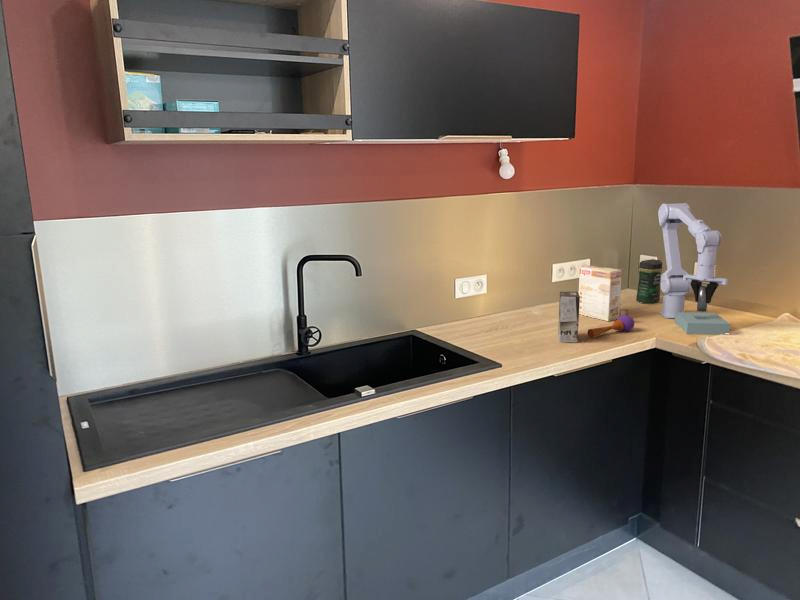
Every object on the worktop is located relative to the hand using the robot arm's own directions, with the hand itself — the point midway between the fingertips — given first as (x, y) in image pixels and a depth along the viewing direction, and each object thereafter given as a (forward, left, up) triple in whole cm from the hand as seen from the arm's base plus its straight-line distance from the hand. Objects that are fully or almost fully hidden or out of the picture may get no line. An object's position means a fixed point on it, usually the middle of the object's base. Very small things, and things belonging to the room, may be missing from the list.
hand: (702, 302), depth 226 cm
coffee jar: (-43, -9, -10) cm, 45 cm away
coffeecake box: (-15, -34, -10) cm, 38 cm away
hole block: (0, 0, -10) cm, 10 cm away
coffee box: (+18, -49, -10) cm, 53 cm away
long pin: (0, 0, -3) cm, 3 cm away
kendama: (+10, -33, -10) cm, 36 cm away
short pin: (-6, -26, -10) cm, 28 cm away
